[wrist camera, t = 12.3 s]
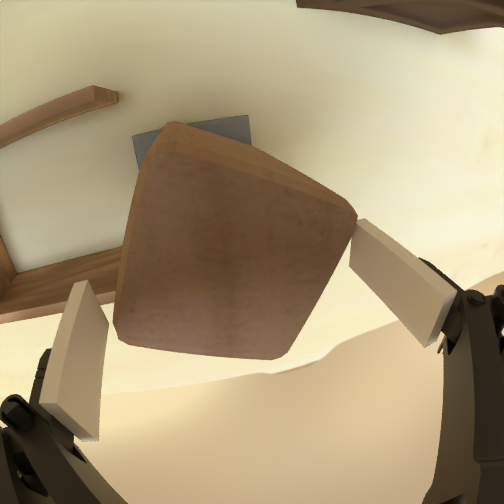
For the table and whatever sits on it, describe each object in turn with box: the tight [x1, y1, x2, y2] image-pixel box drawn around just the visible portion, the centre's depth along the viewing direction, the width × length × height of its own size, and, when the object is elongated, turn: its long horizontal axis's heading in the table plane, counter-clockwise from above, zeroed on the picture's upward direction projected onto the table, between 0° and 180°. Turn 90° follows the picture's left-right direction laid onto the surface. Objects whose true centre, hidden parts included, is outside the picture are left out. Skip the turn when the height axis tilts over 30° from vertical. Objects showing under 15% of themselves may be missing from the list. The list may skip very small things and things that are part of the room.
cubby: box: [0, 86, 123, 324], centre depth 22 cm, size 18×21×9 cm
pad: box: [133, 115, 251, 171], centre depth 30 cm, size 12×12×1 cm
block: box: [113, 122, 358, 360], centre depth 21 cm, size 10×10×20 cm
